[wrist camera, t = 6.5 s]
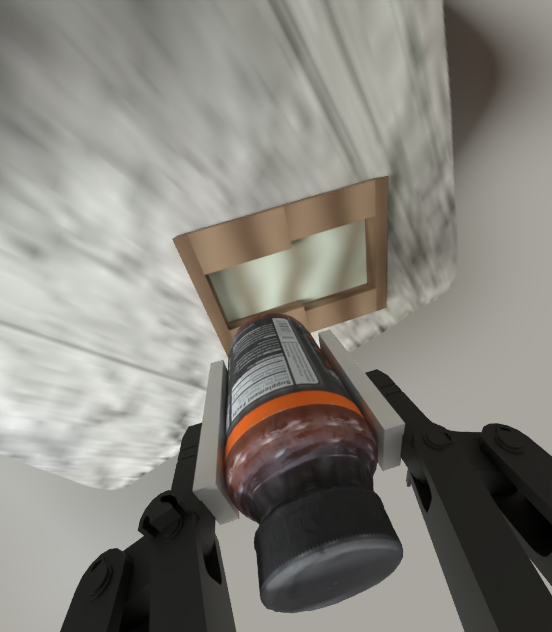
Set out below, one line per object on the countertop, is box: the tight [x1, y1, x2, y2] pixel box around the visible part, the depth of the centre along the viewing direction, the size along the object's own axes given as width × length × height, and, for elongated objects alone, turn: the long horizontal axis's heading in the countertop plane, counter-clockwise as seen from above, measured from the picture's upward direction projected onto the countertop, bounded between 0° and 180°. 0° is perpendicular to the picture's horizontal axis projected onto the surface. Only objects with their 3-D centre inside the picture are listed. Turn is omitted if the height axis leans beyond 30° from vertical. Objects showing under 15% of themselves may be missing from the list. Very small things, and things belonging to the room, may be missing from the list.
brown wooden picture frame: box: [172, 176, 388, 357], centre depth 27 cm, size 23×16×2 cm
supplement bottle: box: [225, 313, 403, 613], centre depth 11 cm, size 6×6×11 cm
